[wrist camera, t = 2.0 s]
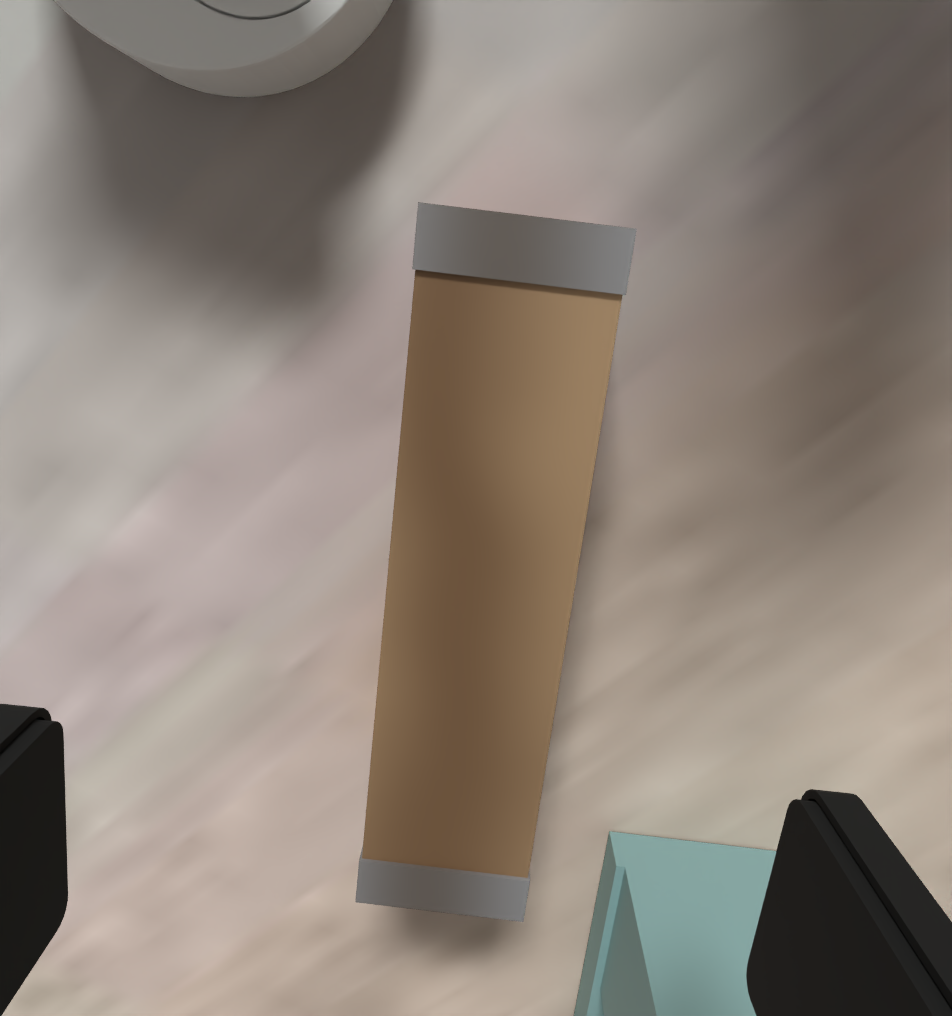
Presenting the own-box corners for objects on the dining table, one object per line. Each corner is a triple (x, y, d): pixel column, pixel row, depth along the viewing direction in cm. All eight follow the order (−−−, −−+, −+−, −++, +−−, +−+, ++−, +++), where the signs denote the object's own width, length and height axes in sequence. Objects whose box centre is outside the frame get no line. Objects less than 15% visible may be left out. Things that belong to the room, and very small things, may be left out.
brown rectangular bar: (602, 241, 20) (636, 229, 15) (518, 791, 24) (523, 921, 19) (438, 221, 20) (418, 202, 15) (384, 775, 24) (355, 902, 19)
